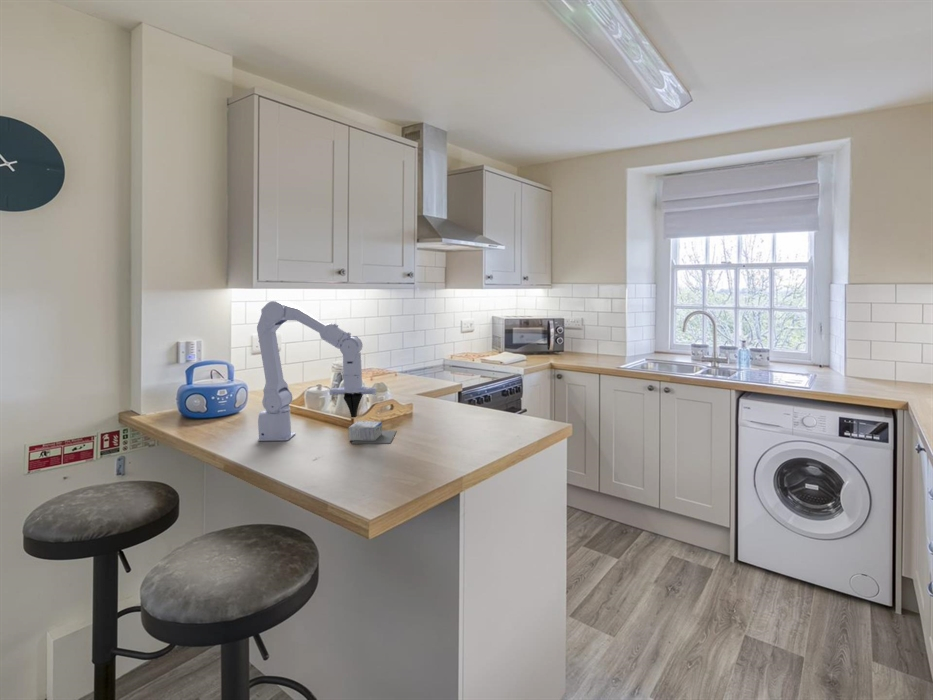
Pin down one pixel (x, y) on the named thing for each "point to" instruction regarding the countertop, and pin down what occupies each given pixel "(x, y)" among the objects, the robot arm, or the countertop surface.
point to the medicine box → (365, 430)
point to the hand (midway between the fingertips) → (354, 416)
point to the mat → (379, 439)
